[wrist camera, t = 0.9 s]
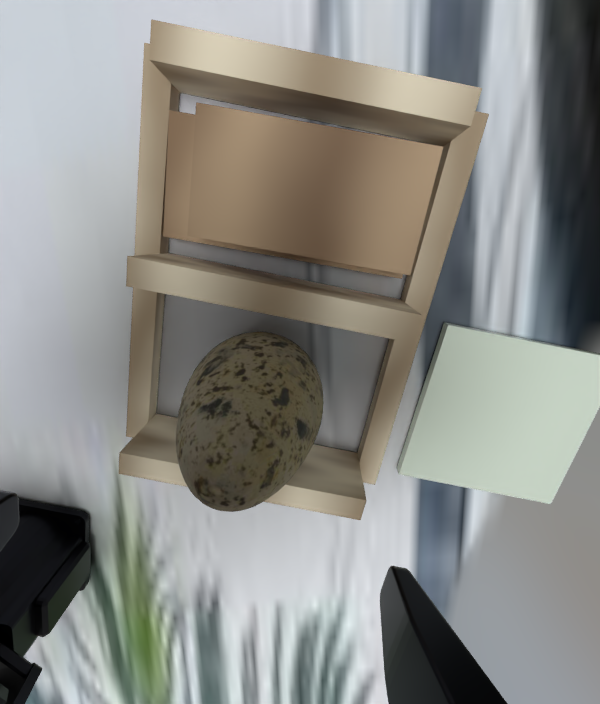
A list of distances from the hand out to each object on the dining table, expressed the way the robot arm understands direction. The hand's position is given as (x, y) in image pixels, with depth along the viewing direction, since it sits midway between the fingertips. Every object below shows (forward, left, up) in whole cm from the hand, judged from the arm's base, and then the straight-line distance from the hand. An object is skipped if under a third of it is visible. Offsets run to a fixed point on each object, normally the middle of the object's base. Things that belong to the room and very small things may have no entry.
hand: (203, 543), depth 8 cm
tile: (+13, 0, -12) cm, 17 cm away
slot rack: (0, +4, -12) cm, 12 cm away
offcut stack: (0, +9, -12) cm, 15 cm away
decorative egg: (0, 0, -12) cm, 12 cm away
